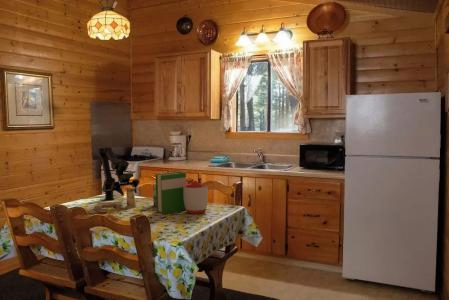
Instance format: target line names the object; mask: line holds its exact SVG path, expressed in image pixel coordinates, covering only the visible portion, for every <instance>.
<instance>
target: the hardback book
mask: <svg viewBox="0 0 449 300" xmlns="http://www.w3.org/2000/svg"><path fill="white" fill-rule="evenodd" d="M155 183H156V205H155V206H156V213H161V215H165V214H167V215H168V214H171V213H177V212H183V211H186V209H185V206H184V196H183V185H185V184H187V173H186V172H185V171H184V172H183V171H174V172H173V171H172V172H162V173H156V174H155Z"/></svg>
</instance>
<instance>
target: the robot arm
mask: <svg viewBox="0 0 449 300" xmlns="http://www.w3.org/2000/svg"><path fill="white" fill-rule="evenodd" d="M96 154H97V156H98V157H97V158H99V160H101V164H102V170H103V175H104V180H103V185H102V188H101V190H102V192H103V193H104V195H105V197H104V201H114V200H115V197H114V192H115V191H116V192H117V193H118V194H120V195H122V196H124V195H125V193H124V190H123V189H122V187H127V186H128V187H129V186H130V187H135V190H134V193H135V195H136V194H137V193H138V192H137V190H138V189H137V187H138V186H139V184H140V180H139V178H135V179H133V177H134V173H133V171H130V172H126V171H127V170H128V167H129V165H130V164H129V163H130V162H128V161H127V160H125V159H119V158H118V157H117V156H116V154H115V153H114V151H113V149H112V147H110V146H105V147H98V149H97V150H96ZM111 169H112V170H113V171H115V173H114V175H115V176H117V181H116V179H115V177H113V176H112V171H111ZM131 179H132V181H131Z"/></svg>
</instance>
